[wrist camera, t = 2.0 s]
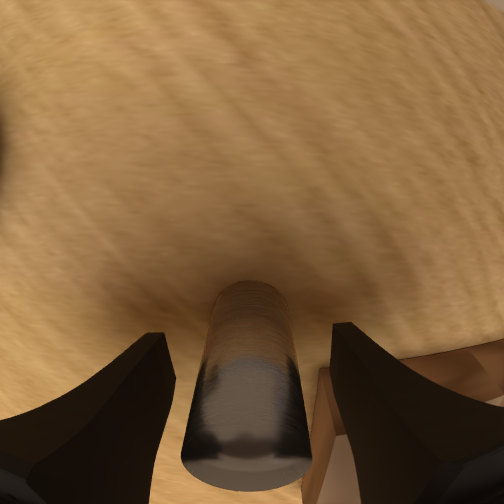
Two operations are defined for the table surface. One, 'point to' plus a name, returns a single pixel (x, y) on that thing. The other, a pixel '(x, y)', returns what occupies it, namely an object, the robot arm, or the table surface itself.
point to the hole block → (334, 435)
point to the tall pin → (248, 396)
